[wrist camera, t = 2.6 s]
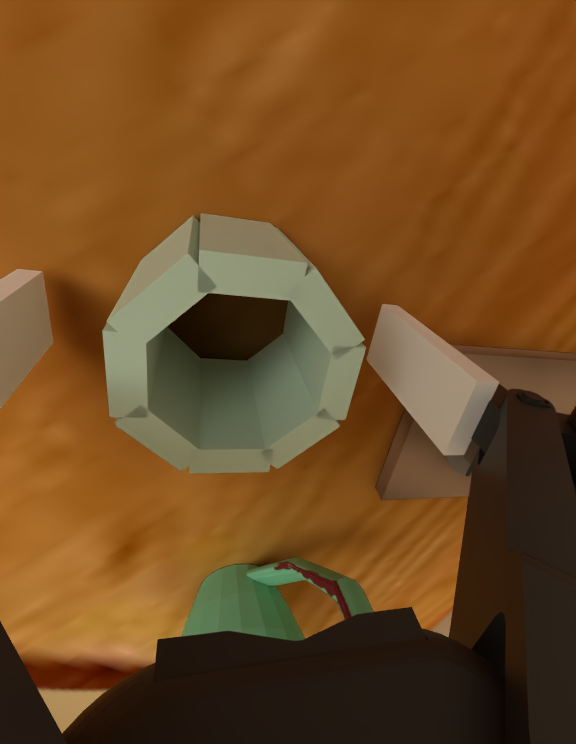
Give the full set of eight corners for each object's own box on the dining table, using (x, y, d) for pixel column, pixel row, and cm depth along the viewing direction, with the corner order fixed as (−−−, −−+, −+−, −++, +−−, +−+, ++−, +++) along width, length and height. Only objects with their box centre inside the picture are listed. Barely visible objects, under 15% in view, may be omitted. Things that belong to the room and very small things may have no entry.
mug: (250, 634, 29) (269, 829, 21) (132, 611, 25) (96, 847, 17) (380, 519, 25) (469, 706, 17) (265, 467, 21) (308, 686, 12)
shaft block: (429, 343, 19) (586, 476, 11) (585, 354, 21) (801, 469, 13) (375, 487, 23) (458, 650, 16) (507, 482, 26) (634, 621, 18)
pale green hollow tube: (136, 203, 13) (94, 237, 8) (324, 230, 15) (387, 272, 10) (141, 375, 16) (114, 475, 11) (295, 381, 18) (330, 470, 13)
